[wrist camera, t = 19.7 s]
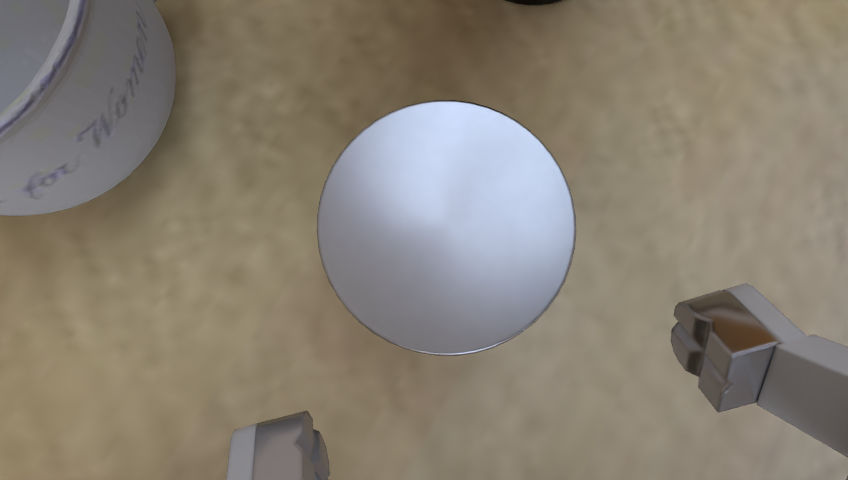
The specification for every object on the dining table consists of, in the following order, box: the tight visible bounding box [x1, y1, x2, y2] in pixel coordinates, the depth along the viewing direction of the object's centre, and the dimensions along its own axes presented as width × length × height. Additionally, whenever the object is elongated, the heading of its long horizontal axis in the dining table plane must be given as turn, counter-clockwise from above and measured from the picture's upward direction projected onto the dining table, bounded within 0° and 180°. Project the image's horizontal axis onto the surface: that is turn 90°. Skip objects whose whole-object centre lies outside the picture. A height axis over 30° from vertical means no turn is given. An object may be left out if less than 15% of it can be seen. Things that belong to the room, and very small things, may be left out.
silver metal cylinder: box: [317, 100, 576, 356], centre depth 17 cm, size 6×6×8 cm
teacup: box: [0, 0, 176, 216], centre depth 18 cm, size 14×11×8 cm
